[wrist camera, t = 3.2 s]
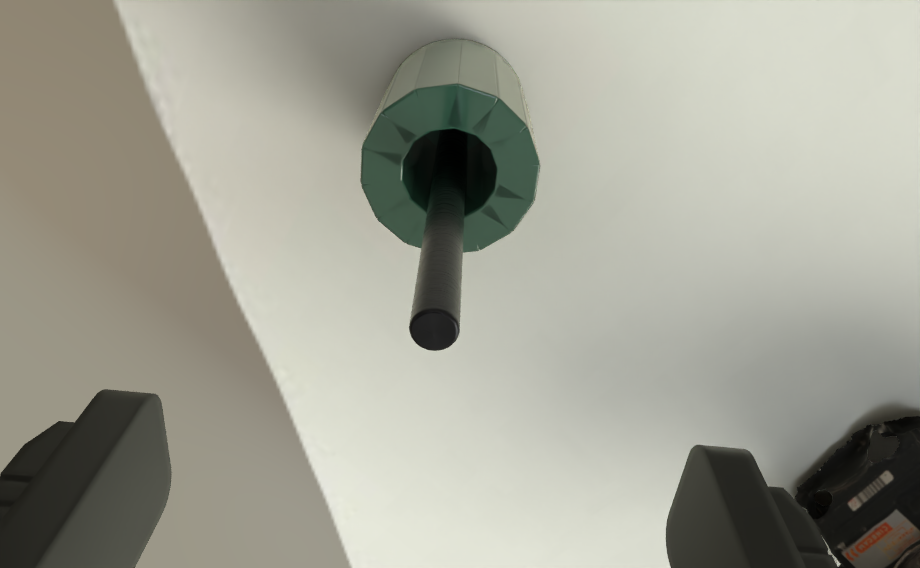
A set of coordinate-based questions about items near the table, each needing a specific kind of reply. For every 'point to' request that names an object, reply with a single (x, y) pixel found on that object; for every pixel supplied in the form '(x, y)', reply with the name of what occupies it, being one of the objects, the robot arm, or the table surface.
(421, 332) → the stylus
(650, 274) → the table surface
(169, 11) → the table surface
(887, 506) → the movie camera
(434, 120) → the holder
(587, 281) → the table surface
